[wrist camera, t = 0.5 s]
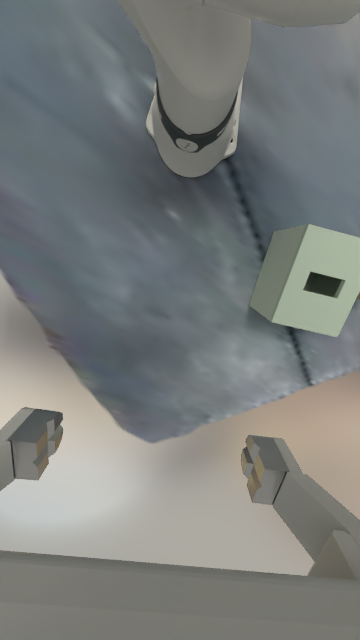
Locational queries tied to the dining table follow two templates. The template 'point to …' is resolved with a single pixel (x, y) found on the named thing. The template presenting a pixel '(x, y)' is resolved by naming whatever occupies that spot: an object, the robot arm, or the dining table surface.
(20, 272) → the dining table surface
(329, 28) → the dining table surface
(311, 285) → the slot box
